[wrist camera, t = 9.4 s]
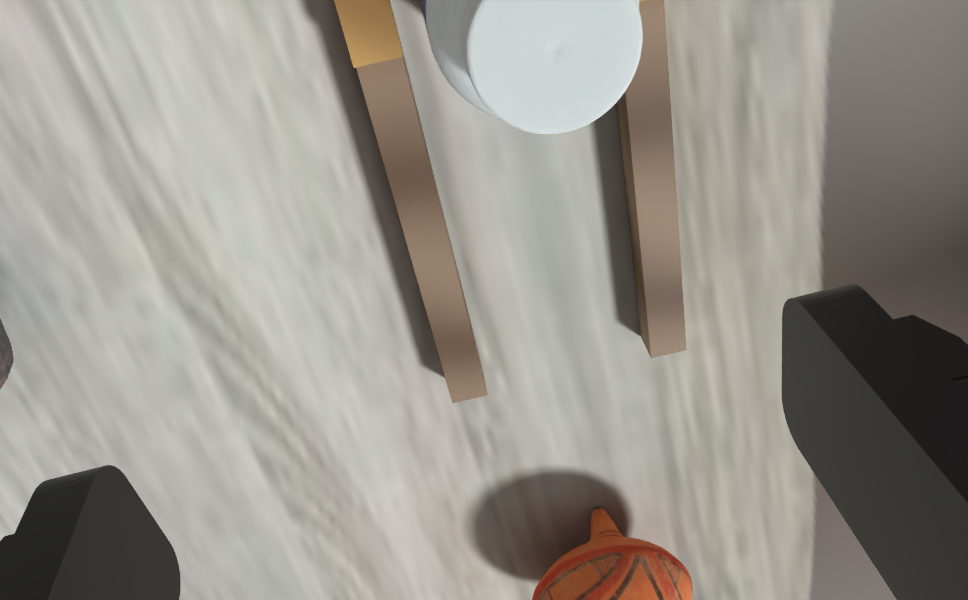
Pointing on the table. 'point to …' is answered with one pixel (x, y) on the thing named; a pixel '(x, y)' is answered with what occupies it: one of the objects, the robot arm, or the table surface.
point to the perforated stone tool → (5, 355)
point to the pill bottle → (537, 57)
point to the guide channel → (421, 210)
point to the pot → (615, 569)
